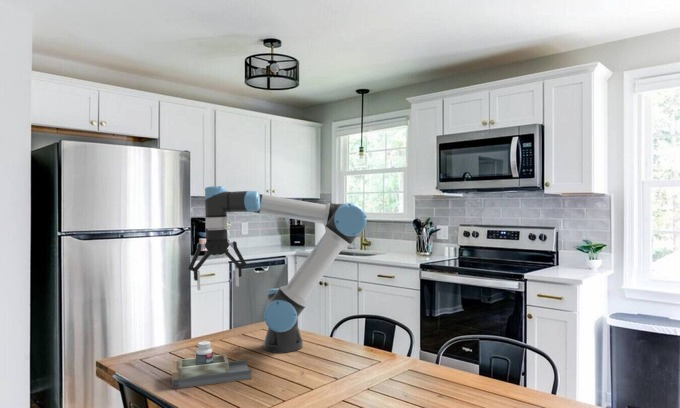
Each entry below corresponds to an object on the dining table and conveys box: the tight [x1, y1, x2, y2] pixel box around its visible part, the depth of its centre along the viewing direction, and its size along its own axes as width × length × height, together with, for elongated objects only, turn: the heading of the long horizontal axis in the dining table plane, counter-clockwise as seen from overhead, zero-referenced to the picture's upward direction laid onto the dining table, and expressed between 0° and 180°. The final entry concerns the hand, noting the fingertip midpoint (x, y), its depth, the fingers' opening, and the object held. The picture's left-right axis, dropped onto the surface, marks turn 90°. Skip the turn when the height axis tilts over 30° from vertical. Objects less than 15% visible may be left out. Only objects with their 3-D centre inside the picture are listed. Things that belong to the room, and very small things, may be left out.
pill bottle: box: [195, 340, 214, 365], centre depth 152 cm, size 5×5×9 cm
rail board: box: [171, 359, 252, 390], centre depth 152 cm, size 24×11×5 cm, turn 109°
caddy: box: [178, 353, 230, 379], centre depth 152 cm, size 15×9×4 cm, turn 109°
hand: (218, 287), depth 170 cm, fingers open, 13 cm apart
